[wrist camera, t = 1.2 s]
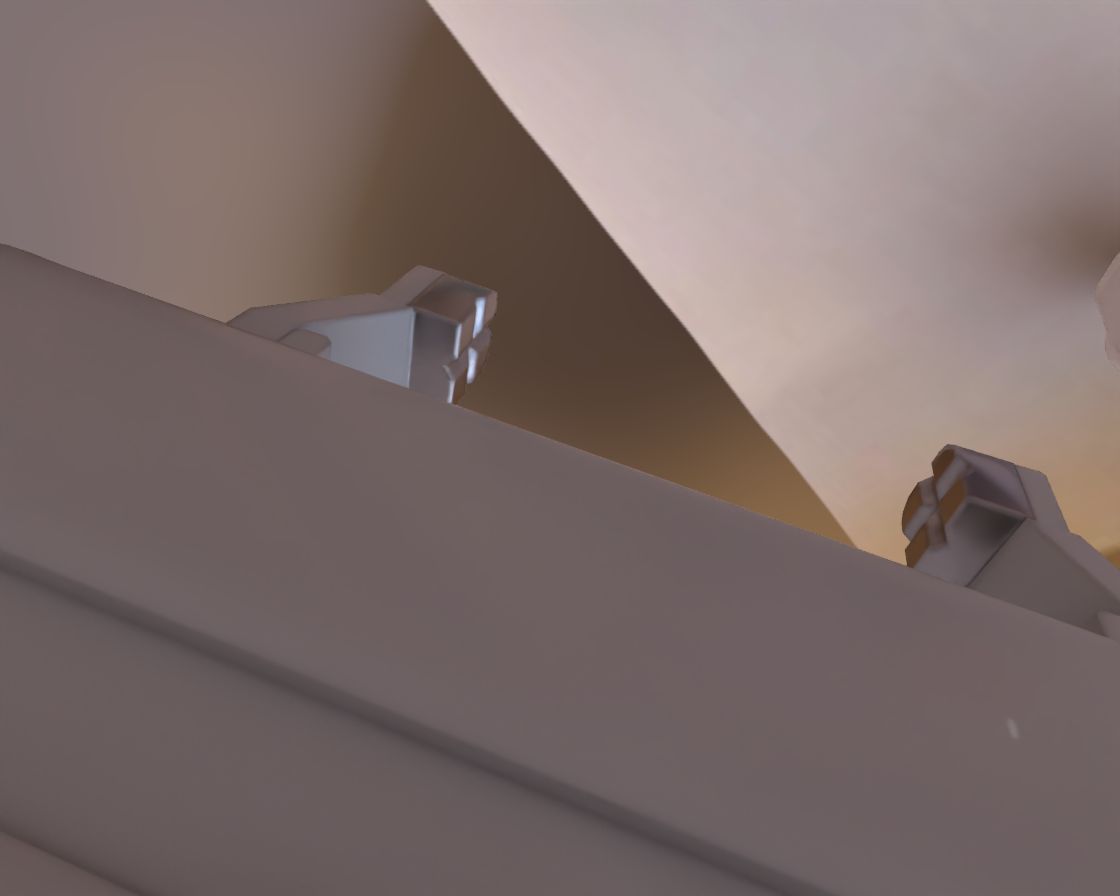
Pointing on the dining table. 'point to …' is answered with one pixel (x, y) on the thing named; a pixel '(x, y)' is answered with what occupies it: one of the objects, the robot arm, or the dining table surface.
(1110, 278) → the headset
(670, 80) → the dining table surface
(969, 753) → the robot arm
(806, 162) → the dining table surface
